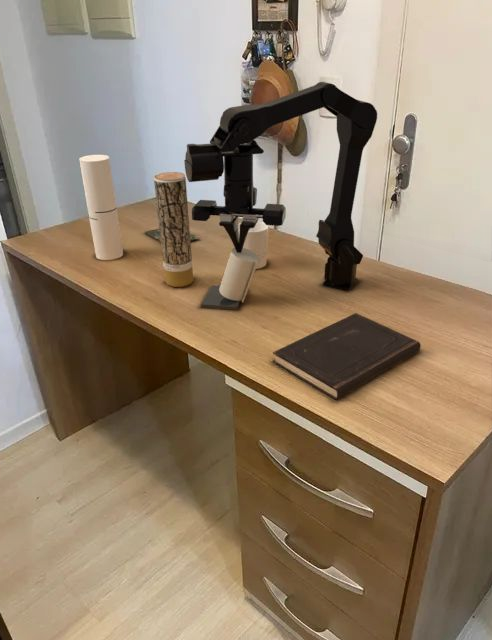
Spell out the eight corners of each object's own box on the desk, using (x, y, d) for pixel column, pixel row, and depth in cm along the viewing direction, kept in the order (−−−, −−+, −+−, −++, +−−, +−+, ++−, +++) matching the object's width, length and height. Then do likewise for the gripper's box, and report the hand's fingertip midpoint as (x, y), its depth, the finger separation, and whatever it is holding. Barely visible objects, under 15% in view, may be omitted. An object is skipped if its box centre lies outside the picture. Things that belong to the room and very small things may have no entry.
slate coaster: (245, 290, 129) (245, 287, 129) (236, 310, 121) (236, 306, 120) (212, 288, 130) (211, 285, 130) (201, 307, 122) (200, 304, 122)
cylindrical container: (119, 260, 146) (105, 161, 132) (92, 260, 146) (75, 161, 132) (125, 249, 152) (112, 154, 138) (99, 250, 152) (83, 154, 138)
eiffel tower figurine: (143, 233, 162) (137, 187, 155) (173, 226, 168) (169, 181, 160) (168, 248, 152) (163, 199, 145) (200, 240, 157) (196, 192, 150)
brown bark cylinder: (188, 289, 130) (179, 180, 117) (161, 287, 131) (149, 179, 118) (197, 277, 136) (189, 172, 122) (170, 275, 137) (159, 171, 123)
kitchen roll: (261, 254, 121) (235, 244, 121) (256, 264, 116) (228, 254, 116) (247, 292, 127) (222, 282, 127) (242, 304, 122) (216, 294, 122)
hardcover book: (272, 362, 103) (272, 351, 102) (354, 322, 115) (355, 312, 114) (337, 401, 93) (338, 390, 91) (419, 352, 105) (421, 342, 104)
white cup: (256, 273, 137) (255, 234, 132) (231, 265, 142) (230, 227, 136) (274, 262, 143) (275, 224, 137) (250, 256, 147) (249, 219, 141)
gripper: (290, 170, 116) (287, 241, 124) (203, 165, 118) (206, 236, 127) (283, 184, 106) (280, 260, 115) (189, 179, 109) (193, 254, 118)
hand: (239, 252), depth 119 cm, fingers closed
